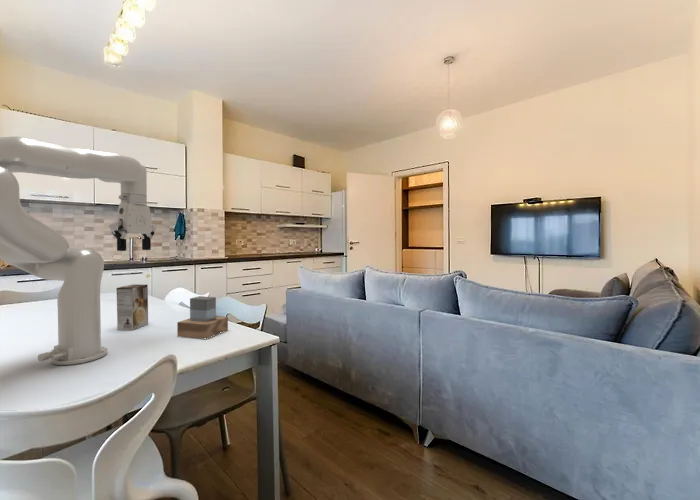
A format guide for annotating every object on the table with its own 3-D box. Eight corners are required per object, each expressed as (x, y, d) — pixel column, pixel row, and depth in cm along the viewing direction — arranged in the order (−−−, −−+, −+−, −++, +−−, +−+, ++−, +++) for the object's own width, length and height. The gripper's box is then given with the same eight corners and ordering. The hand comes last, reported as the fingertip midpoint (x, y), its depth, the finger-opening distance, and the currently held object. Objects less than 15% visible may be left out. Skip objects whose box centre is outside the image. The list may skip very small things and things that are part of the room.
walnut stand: (206, 339, 115) (206, 324, 115) (177, 336, 118) (177, 322, 118) (227, 330, 126) (227, 317, 126) (200, 327, 129) (200, 314, 129)
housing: (206, 322, 118) (206, 299, 118) (190, 320, 120) (190, 298, 120) (215, 318, 123) (215, 297, 123) (199, 317, 125) (199, 296, 125)
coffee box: (133, 324, 134) (132, 284, 133) (148, 324, 133) (148, 284, 133) (116, 330, 124) (115, 287, 124) (133, 330, 124) (132, 287, 124)
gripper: (119, 197, 105) (120, 251, 106) (163, 203, 122) (163, 249, 123) (100, 197, 107) (101, 251, 108) (146, 203, 124) (146, 249, 124)
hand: (134, 250), depth 115 cm, fingers open, 9 cm apart
